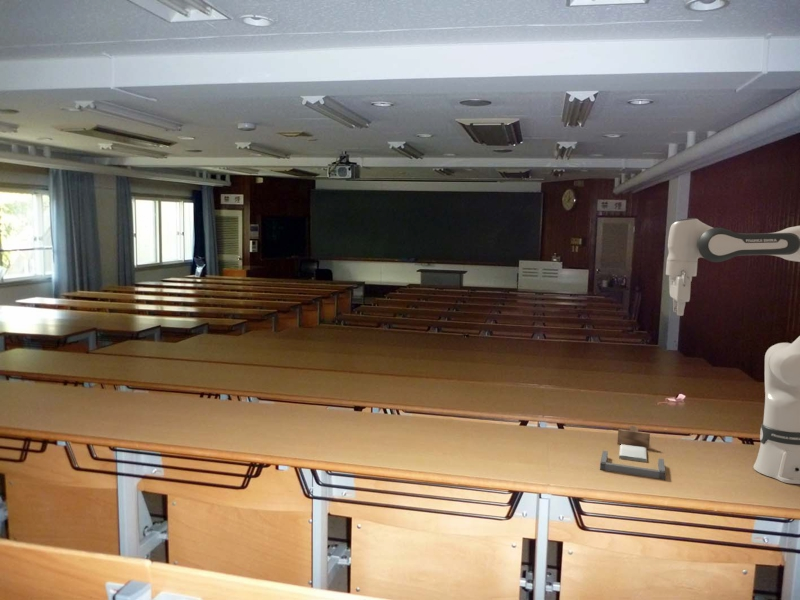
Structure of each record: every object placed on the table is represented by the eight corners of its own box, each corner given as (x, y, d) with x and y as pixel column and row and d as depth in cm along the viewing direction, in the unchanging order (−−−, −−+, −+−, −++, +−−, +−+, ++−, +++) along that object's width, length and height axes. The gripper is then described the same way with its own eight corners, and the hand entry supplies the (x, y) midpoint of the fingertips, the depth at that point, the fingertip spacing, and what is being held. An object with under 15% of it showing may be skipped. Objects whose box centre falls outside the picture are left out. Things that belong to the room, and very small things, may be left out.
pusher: (648, 442, 213) (649, 428, 212) (649, 448, 206) (649, 434, 206) (618, 438, 216) (619, 424, 216) (617, 444, 210) (618, 430, 209)
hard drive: (646, 459, 193) (646, 447, 204) (619, 455, 195) (620, 443, 207) (646, 464, 193) (645, 451, 204) (618, 460, 196) (619, 448, 207)
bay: (663, 465, 190) (663, 459, 190) (664, 479, 179) (665, 472, 178) (602, 456, 197) (602, 450, 196) (600, 469, 185) (600, 463, 185)
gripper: (697, 271, 182) (693, 318, 183) (687, 269, 201) (684, 311, 203) (674, 270, 184) (670, 316, 185) (667, 268, 203) (664, 310, 205)
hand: (678, 313), depth 194 cm, fingers open, 8 cm apart
